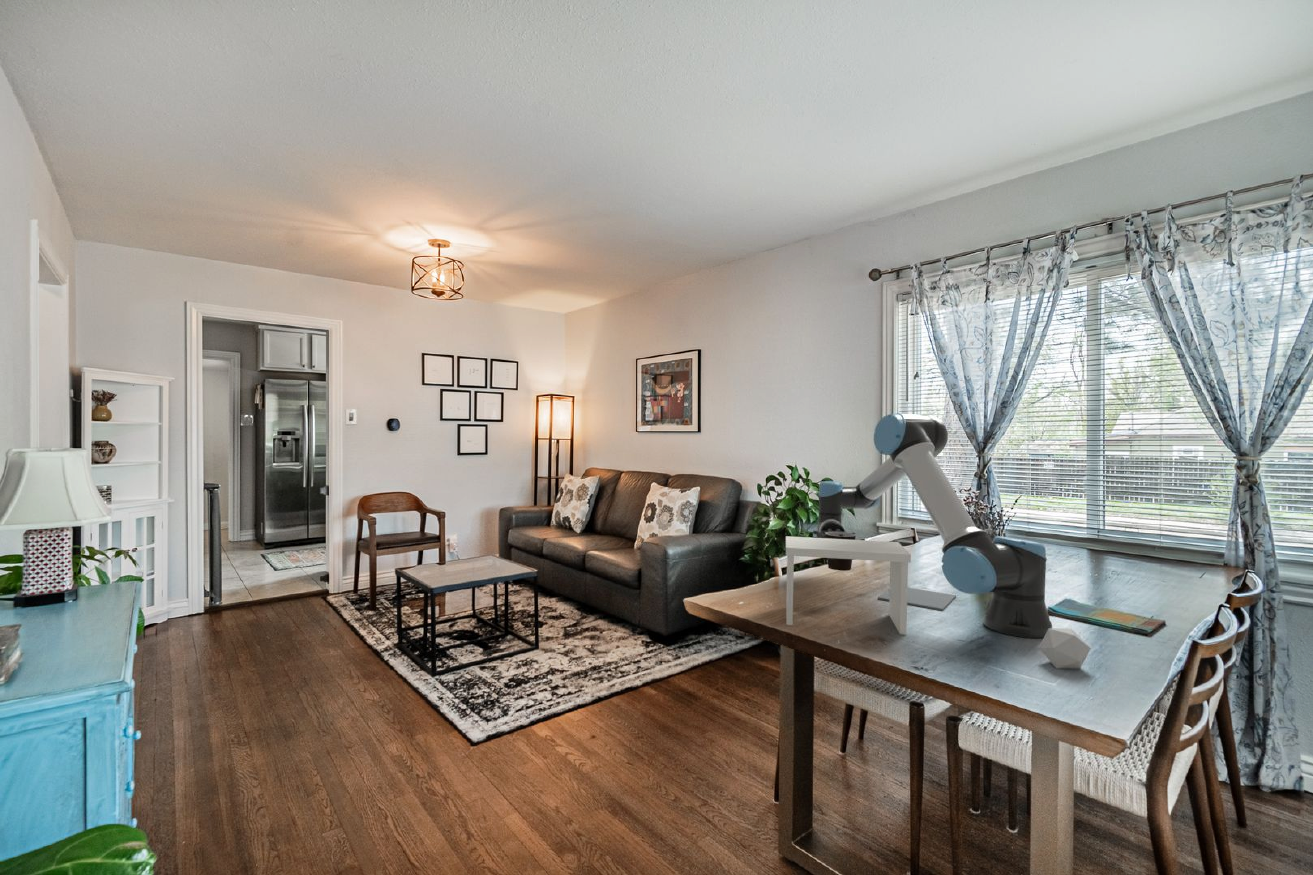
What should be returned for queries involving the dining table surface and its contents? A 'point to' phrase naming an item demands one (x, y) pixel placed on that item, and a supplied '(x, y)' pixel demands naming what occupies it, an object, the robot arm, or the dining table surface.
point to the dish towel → (1106, 617)
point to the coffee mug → (836, 562)
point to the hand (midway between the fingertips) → (838, 544)
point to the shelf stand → (859, 552)
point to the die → (1064, 648)
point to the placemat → (924, 598)
